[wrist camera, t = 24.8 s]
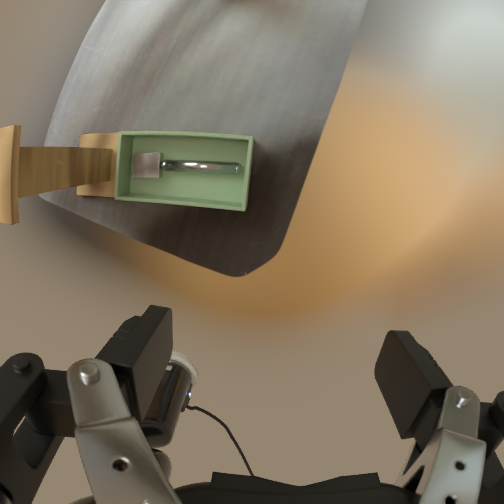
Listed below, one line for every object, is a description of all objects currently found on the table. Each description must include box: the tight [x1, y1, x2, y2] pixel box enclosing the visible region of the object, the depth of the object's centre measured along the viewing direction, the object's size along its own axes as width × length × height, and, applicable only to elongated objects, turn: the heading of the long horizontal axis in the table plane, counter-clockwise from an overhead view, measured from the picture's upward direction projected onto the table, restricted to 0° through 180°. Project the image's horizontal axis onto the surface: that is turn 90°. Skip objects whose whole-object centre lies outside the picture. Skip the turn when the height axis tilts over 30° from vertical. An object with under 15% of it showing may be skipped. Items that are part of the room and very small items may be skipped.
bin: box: [114, 131, 254, 211], centre depth 47 cm, size 22×12×6 cm, turn 84°
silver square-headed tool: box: [133, 152, 243, 178], centre depth 48 cm, size 19×4×2 cm, turn 85°
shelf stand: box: [0, 125, 119, 225], centre depth 35 cm, size 12×12×30 cm
